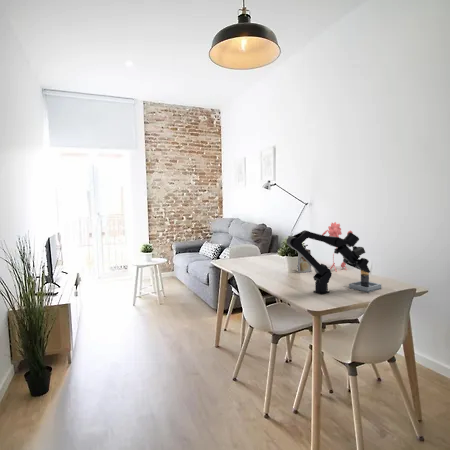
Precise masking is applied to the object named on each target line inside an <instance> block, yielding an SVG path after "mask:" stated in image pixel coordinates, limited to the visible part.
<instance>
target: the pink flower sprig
mask: <svg viewBox="0 0 450 450" xmlns="http://www.w3.org/2000/svg"><path fill="white" fill-rule="evenodd" d="M349 232H351V233H352V234H354V233H353V231H352V230H349V231H347V235H348V233H349ZM327 233H328V236H335V237H339V238H341V237H340V236H341V235H343V233H342V228H341V224H340V223H337V222H336V221H335V222H331V223H330V225H329V226H328V229H326V230H325V231H324V232H323V233H322V234H321V235H324V236H326V235H325V234H327ZM347 235H346V236H347ZM341 239H343V238H341ZM336 248H337V247H335V249H336ZM334 256H335V253H333V254H332V265H331V266H330V267H328V266H327V267H328V269H330V271H331V270H332V269H333V268H334V270H335V272H337V269H336V265H335V262H334V261H335V260H334V258H335V257H334ZM346 265H347V264H345V263H344V262H343V261H342V262H341V264H340V267H341V268H342V269H344V268H345V271H347V270H348V269H347V267H346ZM352 269H354V267H353V268H352Z"/></svg>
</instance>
